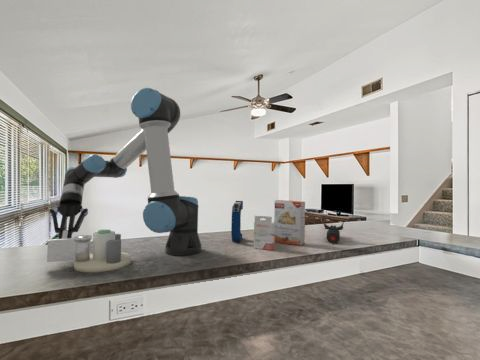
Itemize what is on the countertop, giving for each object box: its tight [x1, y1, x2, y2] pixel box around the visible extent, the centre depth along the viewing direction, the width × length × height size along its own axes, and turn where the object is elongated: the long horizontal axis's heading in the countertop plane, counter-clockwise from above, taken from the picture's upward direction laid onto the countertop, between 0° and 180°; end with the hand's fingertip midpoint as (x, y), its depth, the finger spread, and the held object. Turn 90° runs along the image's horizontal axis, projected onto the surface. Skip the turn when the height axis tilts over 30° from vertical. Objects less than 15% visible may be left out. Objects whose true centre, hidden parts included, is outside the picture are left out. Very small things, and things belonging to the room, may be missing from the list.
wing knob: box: [46, 234, 93, 263], centre depth 92 cm, size 13×5×8 cm, turn 114°
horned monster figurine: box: [322, 220, 344, 245], centre depth 144 cm, size 10×22×10 cm, turn 160°
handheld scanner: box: [230, 200, 244, 243], centre depth 139 cm, size 5×16×20 cm, turn 174°
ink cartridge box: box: [253, 215, 275, 251], centre depth 123 cm, size 9×5×15 cm, turn 68°
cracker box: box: [273, 199, 306, 247], centre depth 134 cm, size 14×6×21 cm, turn 55°
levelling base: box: [73, 229, 132, 273], centre depth 96 cm, size 18×18×12 cm
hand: (63, 247), depth 96 cm, fingers closed
